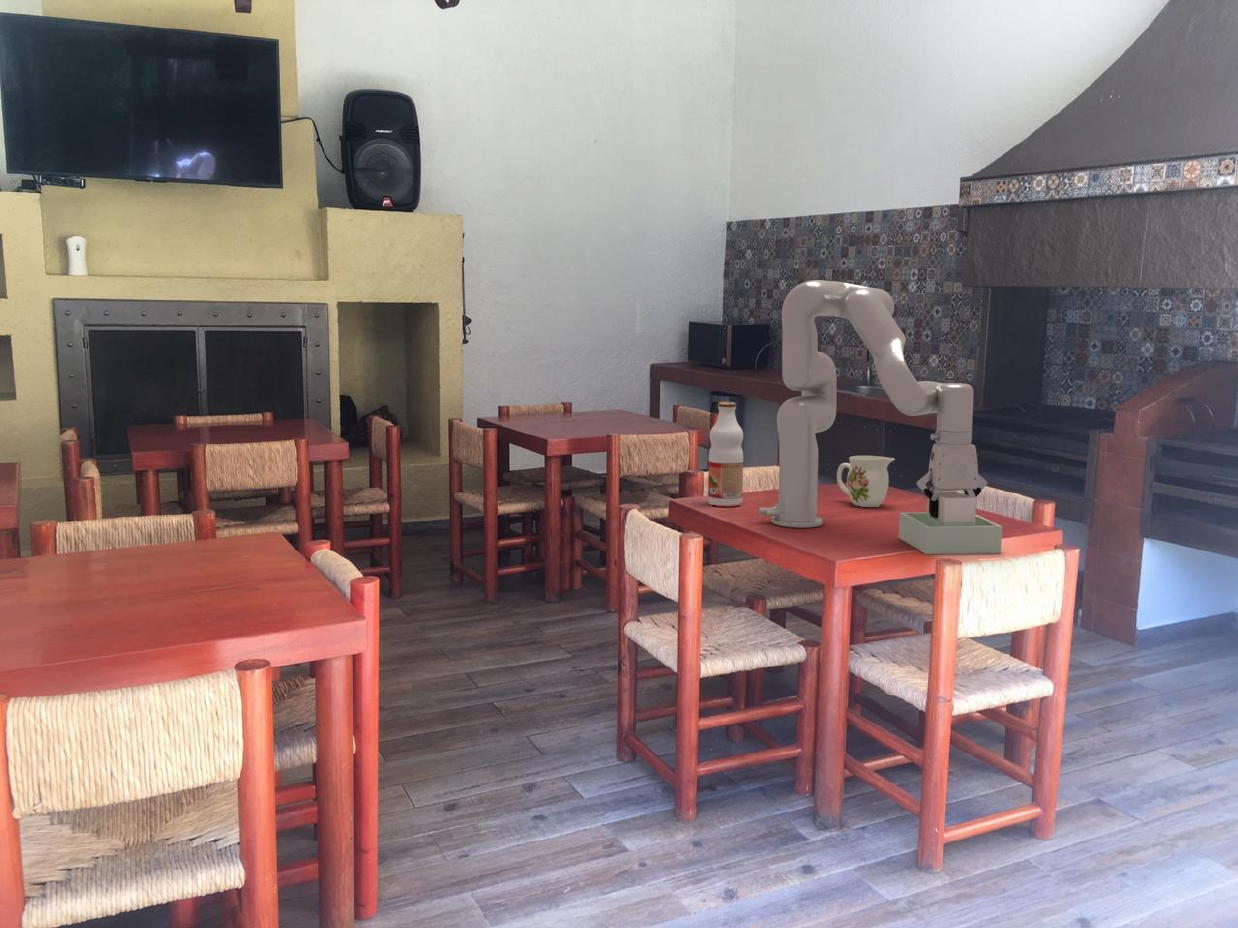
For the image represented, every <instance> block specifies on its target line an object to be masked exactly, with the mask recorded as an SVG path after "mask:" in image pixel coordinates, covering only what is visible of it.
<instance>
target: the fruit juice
mask: <svg viewBox="0 0 1238 928" xmlns="http://www.w3.org/2000/svg"><path fill="white" fill-rule="evenodd" d="M717 409H718V415H717V419H716V422H715V424H713V426H712V427H711V429H710V430H709V439H710V440H709V441H710V448H709V451H708V468H707V469H708V474H707V475H708V477H707V478H708V479H707V480H708V481H707V502H710V503H713V504H718V505H731V504H739V503H742V504H743V490H744V488H743V487H744V486H743V485H744V483H743V482H744V450H743V448H742V443H743V440H744V431H743V429H742V427H741V426H740V425H739V423H738V421H737V417H736V410H737V403H736V402H735V401H734V402H733V401H721V402H718V403H717Z"/></svg>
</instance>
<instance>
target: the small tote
mask: <svg viewBox="0 0 1238 928" xmlns="http://www.w3.org/2000/svg"><path fill="white" fill-rule="evenodd" d="M937 501H939V510H938V518H933V517H931V516H930V514H929V499H928V498H927V505H926V506H927V507H926V508H927V509H926V510H927V517H928V518H930V519H932V520H935V521H937V522H939V523H941V524H943V525H975V514H976V501H977V497H976V498H975V497H972V496H970V495H967V494H965V493H964V492H963V491H962V492H961V491H960V490H941V492H940V494H939V496H938V498H937Z"/></svg>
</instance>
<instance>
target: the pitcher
mask: <svg viewBox="0 0 1238 928" xmlns="http://www.w3.org/2000/svg"><path fill="white" fill-rule="evenodd" d="M848 459H849V462H843V463H841V464H840V465H839V466H838V469H837V471H836V481H837V485H838V487H839V488H840V490H842V491H843V493H844V494H846V495H848V496H849V498H850V501H851V502H852V503H853V505H854V506H855V505H857V506H861V507H860V508H862V507H877V508H879V507H880V505H882V504H883V502H884V500H885V498H886V496H887V493H888V488H889V482H890V481H889V472H888V467H889V465H890V463H891V462H893V461H895V458H893V457H886V456H880V455H879V456H877V455H853V456H849V458H848ZM845 468H847V469H849V471H848V473H847V477H846V478H847V480H846V485H845V484H844V483H843V480H842V473H843V471H844V469H845ZM846 486H847V487H846ZM857 506H856V507H857Z"/></svg>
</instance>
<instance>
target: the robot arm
mask: <svg viewBox="0 0 1238 928" xmlns="http://www.w3.org/2000/svg"><path fill="white" fill-rule="evenodd" d="M781 308H782V310H781V327H782V346H781V347H782V353H781V354H782V355H781V357H782V359H781V360H782V364H781V365H782V366H781V369H782V371H781V372H782V374H781V375H782V380H783V383H784V385H785V386H786V387H787V388H788V389H790V390H791V391H797V392H801V396H794V397H791V398H789V399H787V400H785V401H784V402H783V403H782V404H781V405H780V407H779V409H778V411H777V414H776V427H777V432H778V441H779V444H778V445H779V457H778V459H779V461H778V463H779V465H778V467H779V468H778V495H777V500H778V502H777V503H774V506H773V505H772V506H771V507H759V508H758V515H759V516H766V517H771V521H770V522H771V523H772V524H774V525H776V526H781V527H785V528H800V529H802V528H816V527H820V526H822V525H823V524H824V523H823V522H824V521H823V519H822V517H819V516H817V510H818V509H817V508H818V480H819V477H818V476H819V475H818V474H819V447H818V440H817V438H816V434H819V433H822V432H825V431H827V430H829V429H830V428H831V427H832V426H833V424H834V422H835V420H836V416H837V370H836V366H835V363H834V361H833V360H832V357H830V356H829V355H827V354H826V353H825V352H821V351H819V350H818V349H819V347H818V343H819V342H818V341H819V340H818V338H819V336H818V330H817V325H816V323H815V318H818V317H837V318H842V319H848V320H849V322H850V323H851V326H852V327H853V329H854V330H855V331H856V333H857V334H858V335H859V338H860V339H861V340H862V341H863V343H864V345H865V347H866V348H867V349H868V351H869V352H870V354H871V356H872V358H873V363H874V368H875V371H876V375H877V378H878V381H879V383H880V385H881V387H882V389H883V390H884V392H885V393H886V394H885V395H887V397H888V398H889V400H890V401H891V403H892V404H893V405H894V406H895V408H896V409H897V410H898V411H899V412H900V413H902V414H904V415H906V416H908V417H915V416H916V417H917V416H922V415H930V414H936V415H937V418H936V430H935V433H930V440H931V441H935V443H934V444H933V446H932V448H931V454H930V458H929V464H928V472H927V473H926V474H925V475H923V476H922V477H921V478H920V479H919V480H917V481H916V485H917V487H918V488H919V489H920V490H921V492H922V493H923V494H924V495H925V497H926V498H927V500H928V499H929V514H930V516H931V517H933V518H938V510H939V501H937V498H938V496H939V494H940V492H941V491H962V492H963V493H965V494H967V495H970V496H972V497H975V498H976V499H977V497H978V496H979V495H980V494H981V493H982V491H983V489H985V488H986V487H987V485H988V481H987V480H986V479H985V478H984V477H982V475H980V474H979V469H978V467H979V466H978V455H977V448H976V445H975V444H972V437H973V436H972V435H973V416H974V415H973V414H974V413H973V412H974V411H973V410H974V388H973V386H972V385H970V384H968V383H961V382H960V383H959V382H956V383H954V382H953V383H951V382H949V383H947V382H946V383H942V382H939V381H938V382H937V381H932V380H931V381H930V380H922V381H921V380H920V381H917V379H916V378H915V376H914V374H913V373H912V371H911V370H910V368H909V367H908V365H907V362H906V359H905V356H904V348H905V345H906V341H907V339H906V336H905V334H904V332H903V331H902V330H901V329H902V328H900V326H898V323H897V322H896V320H895V319H894V318H893V314H894V312H895V303H894V300H893V298H892V296H891V295H890V294H889V293H888V292H887V291H886V290H884V289H881V288H876V287H867V286H864V285H859V284H852V283H848V282H841V281H835V280H831V281H830V280H823V279H822V280H821V279H814V280H812V279H811V280H807V281H804V282H802V283H800V284H797V285H796V286H794V287H793V288H792V289H791V290H790V291H789V292H788V293H787V295H786V297H785V299H784V301H783V304H782V307H781ZM927 483H928V486H929V487H930V489H929V488H928V487H927Z"/></svg>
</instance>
